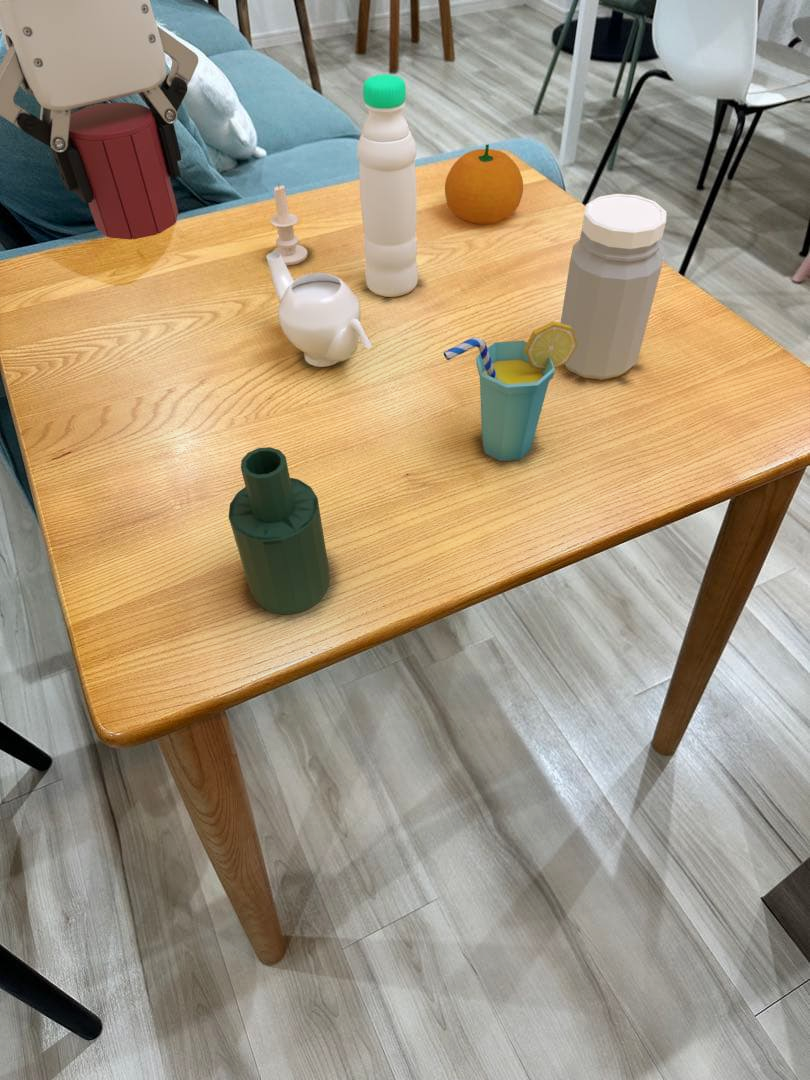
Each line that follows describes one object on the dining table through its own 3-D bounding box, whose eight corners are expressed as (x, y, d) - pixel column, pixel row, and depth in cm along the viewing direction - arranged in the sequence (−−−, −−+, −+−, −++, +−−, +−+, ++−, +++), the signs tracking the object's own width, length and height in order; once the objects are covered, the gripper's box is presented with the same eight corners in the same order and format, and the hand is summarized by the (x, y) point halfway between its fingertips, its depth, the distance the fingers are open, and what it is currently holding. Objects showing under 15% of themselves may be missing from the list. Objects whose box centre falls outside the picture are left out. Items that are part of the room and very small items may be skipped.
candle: (264, 259, 106) (251, 186, 99) (286, 244, 109) (275, 171, 101) (293, 269, 105) (282, 194, 97) (314, 252, 107) (306, 179, 100)
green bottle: (248, 617, 66) (211, 499, 54) (252, 555, 70) (219, 434, 59) (330, 611, 66) (310, 492, 54) (329, 549, 70) (310, 428, 59)
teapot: (339, 411, 84) (331, 340, 77) (249, 333, 94) (234, 265, 87) (405, 378, 88) (403, 307, 81) (312, 307, 98) (303, 239, 91)
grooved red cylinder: (91, 242, 61) (55, 138, 55) (105, 204, 65) (72, 104, 59) (173, 237, 61) (145, 132, 55) (181, 199, 65) (156, 99, 59)
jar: (654, 366, 88) (696, 217, 74) (590, 394, 85) (621, 244, 71) (599, 327, 94) (629, 181, 80) (537, 351, 90) (557, 205, 77)
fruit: (446, 195, 118) (448, 128, 111) (520, 197, 117) (527, 129, 110) (441, 231, 111) (442, 161, 103) (520, 233, 110) (527, 163, 102)
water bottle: (427, 280, 102) (427, 74, 83) (399, 304, 98) (393, 94, 79) (384, 267, 104) (375, 64, 86) (356, 290, 101) (339, 83, 82)
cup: (461, 493, 75) (467, 370, 64) (424, 447, 80) (424, 325, 68) (574, 447, 79) (599, 324, 68) (533, 407, 84) (550, 285, 72)
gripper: (148, -124, 53) (204, 143, 66) (-115, -92, 46) (6, 197, 60) (194, -110, 49) (243, 171, 62) (-87, -73, 42) (36, 233, 55)
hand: (127, 182), depth 61 cm, fingers closed on grooved red cylinder, 6 cm apart
